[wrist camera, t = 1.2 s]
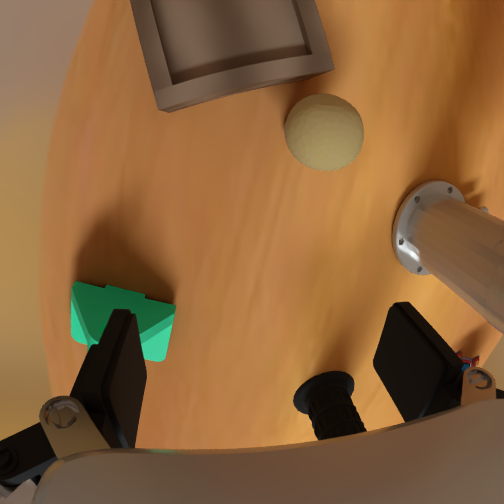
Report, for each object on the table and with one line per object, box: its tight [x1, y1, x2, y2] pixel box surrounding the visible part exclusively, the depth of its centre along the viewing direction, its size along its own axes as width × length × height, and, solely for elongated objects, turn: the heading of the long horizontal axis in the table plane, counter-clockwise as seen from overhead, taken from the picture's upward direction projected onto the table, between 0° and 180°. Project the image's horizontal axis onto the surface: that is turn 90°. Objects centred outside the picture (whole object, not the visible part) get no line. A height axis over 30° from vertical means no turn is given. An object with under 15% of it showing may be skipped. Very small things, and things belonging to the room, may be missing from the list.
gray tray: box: [130, 0, 334, 113], centre depth 22 cm, size 14×14×7 cm
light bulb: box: [284, 94, 364, 171], centre depth 26 cm, size 6×6×10 cm
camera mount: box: [71, 281, 176, 362], centre depth 31 cm, size 12×8×10 cm, turn 72°
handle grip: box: [293, 371, 367, 440], centre depth 34 cm, size 10×26×10 cm
